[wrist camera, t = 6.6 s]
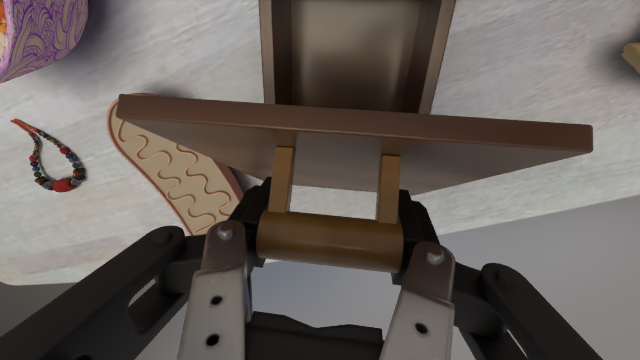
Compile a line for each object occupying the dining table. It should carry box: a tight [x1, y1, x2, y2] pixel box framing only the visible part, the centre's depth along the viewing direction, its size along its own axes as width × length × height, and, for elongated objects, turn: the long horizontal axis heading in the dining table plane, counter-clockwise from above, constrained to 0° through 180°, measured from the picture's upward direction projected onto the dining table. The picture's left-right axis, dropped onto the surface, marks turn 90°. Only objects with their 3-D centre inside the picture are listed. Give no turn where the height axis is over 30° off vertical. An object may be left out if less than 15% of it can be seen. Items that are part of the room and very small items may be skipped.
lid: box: [115, 94, 593, 273], centre depth 16 cm, size 18×14×5 cm
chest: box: [259, 0, 456, 114], centre depth 26 cm, size 17×14×8 cm
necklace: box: [11, 119, 85, 192], centre depth 38 cm, size 8×11×2 cm
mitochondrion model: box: [107, 93, 244, 236], centre depth 34 cm, size 23×10×5 cm, turn 26°
